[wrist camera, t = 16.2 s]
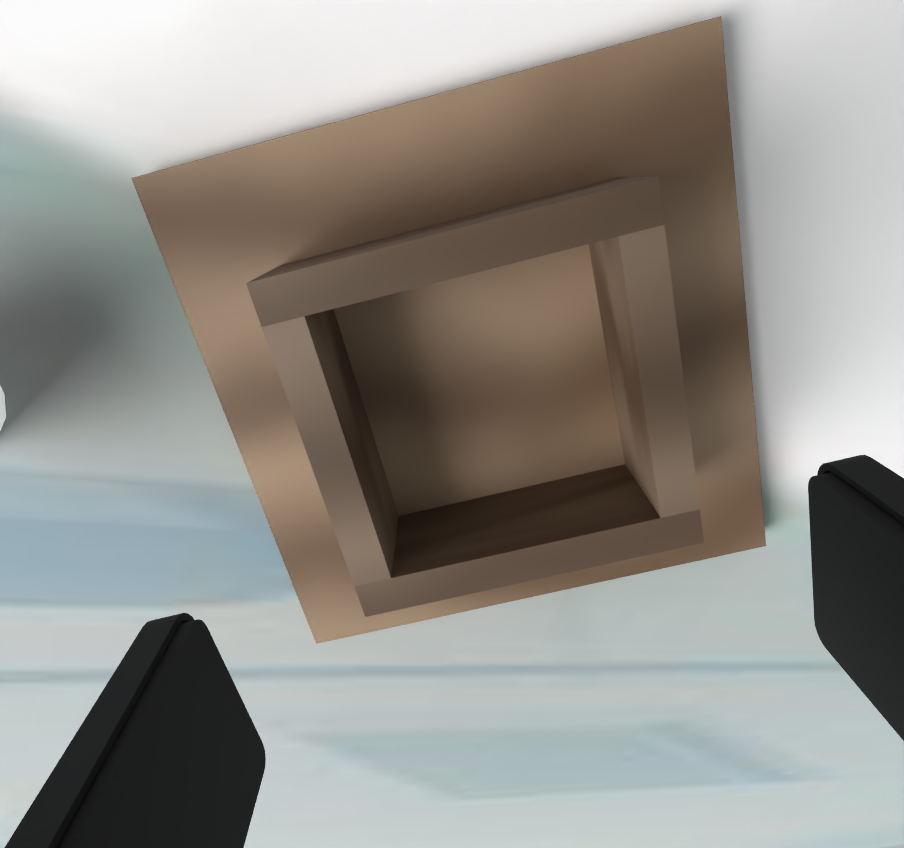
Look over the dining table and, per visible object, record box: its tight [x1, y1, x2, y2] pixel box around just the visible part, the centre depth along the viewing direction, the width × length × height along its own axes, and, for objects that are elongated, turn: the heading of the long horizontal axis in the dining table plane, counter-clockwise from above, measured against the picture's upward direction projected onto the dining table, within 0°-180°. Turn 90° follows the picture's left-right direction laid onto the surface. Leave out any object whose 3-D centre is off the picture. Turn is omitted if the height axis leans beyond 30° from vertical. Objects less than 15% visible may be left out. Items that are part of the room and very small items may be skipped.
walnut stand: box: [132, 16, 766, 644], centre depth 21 cm, size 18×18×5 cm
